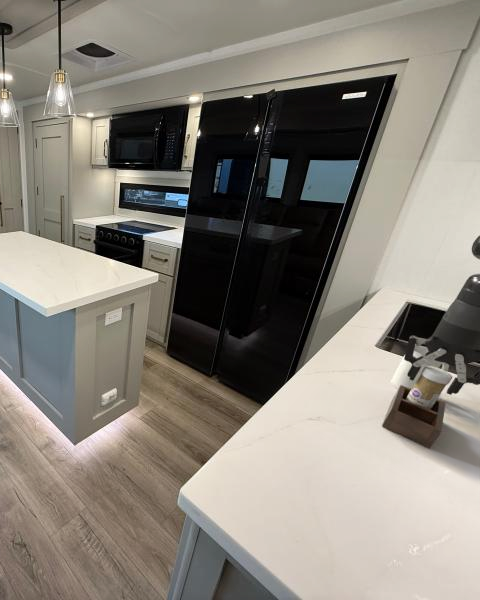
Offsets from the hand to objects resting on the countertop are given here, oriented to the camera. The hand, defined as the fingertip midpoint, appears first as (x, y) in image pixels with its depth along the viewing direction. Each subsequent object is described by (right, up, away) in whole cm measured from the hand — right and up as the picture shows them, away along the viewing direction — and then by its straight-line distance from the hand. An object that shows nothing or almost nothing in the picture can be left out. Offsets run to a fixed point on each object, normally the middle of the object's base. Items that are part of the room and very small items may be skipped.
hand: (429, 385), depth 73 cm
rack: (-3, -9, +2) cm, 10 cm away
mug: (+11, -5, +14) cm, 18 cm away
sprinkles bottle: (0, -9, +4) cm, 10 cm away
